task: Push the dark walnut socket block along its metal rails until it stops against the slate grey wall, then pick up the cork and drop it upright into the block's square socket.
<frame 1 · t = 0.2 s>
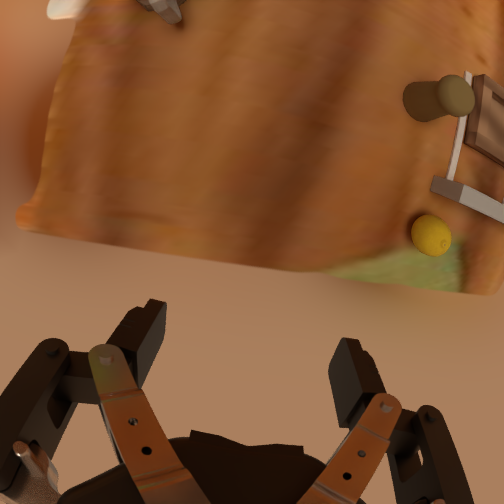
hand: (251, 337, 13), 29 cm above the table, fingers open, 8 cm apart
socket block: (499, 124, 31), point 2 cm above the table, slide at 0.0 cm
backstop: (489, 145, 34), on the table
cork: (420, 101, 34), on the table
lemon: (418, 226, 40), on the table
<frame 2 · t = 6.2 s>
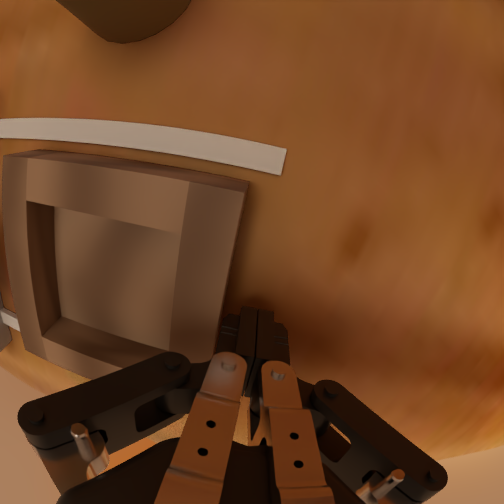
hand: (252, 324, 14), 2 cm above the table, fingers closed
socket block: (105, 283, 14), point 2 cm above the table, slide at 1.3 cm, touching gripper
backstop: (80, 258, 15), on the table
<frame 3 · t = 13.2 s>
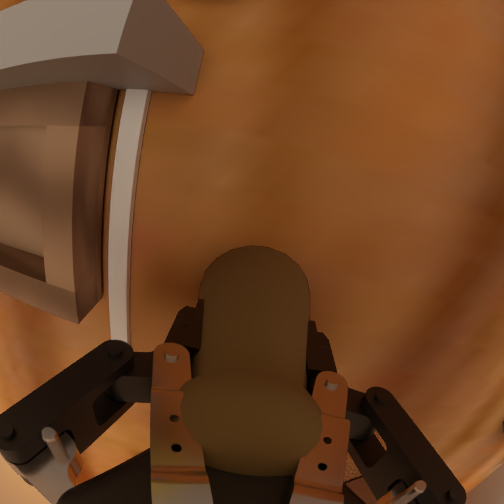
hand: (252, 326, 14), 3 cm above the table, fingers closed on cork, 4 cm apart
socket block: (12, 193, 13), point 2 cm above the table, slide at 6.8 cm
backstop: (31, 229, 16), on the table
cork: (254, 296, 17), on the table, touching gripper
when the fingers open (5 cm above the table, at t = 18.0 s): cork drops 1 cm, resting on socket block.
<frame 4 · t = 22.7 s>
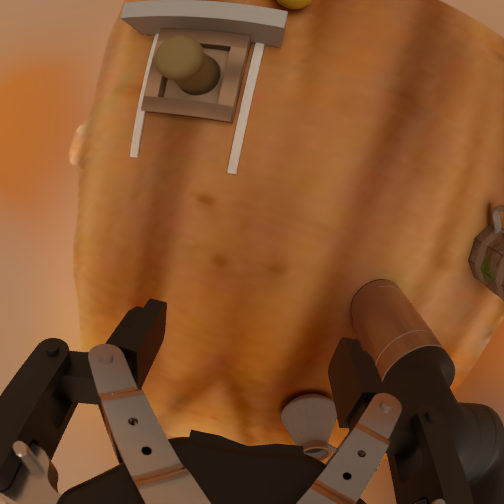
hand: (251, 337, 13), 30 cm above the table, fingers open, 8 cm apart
socket block: (195, 73, 33), point 2 cm above the table, slide at 6.7 cm, touching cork
backstop: (194, 94, 36), on the table
mug: (488, 239, 41), on the table
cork: (198, 75, 34), point 1 cm above the table, touching socket block
lemon: (291, 2, 31), on the table
coffee pot: (327, 409, 56), on the table
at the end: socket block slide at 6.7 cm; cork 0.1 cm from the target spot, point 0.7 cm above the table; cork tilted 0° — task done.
